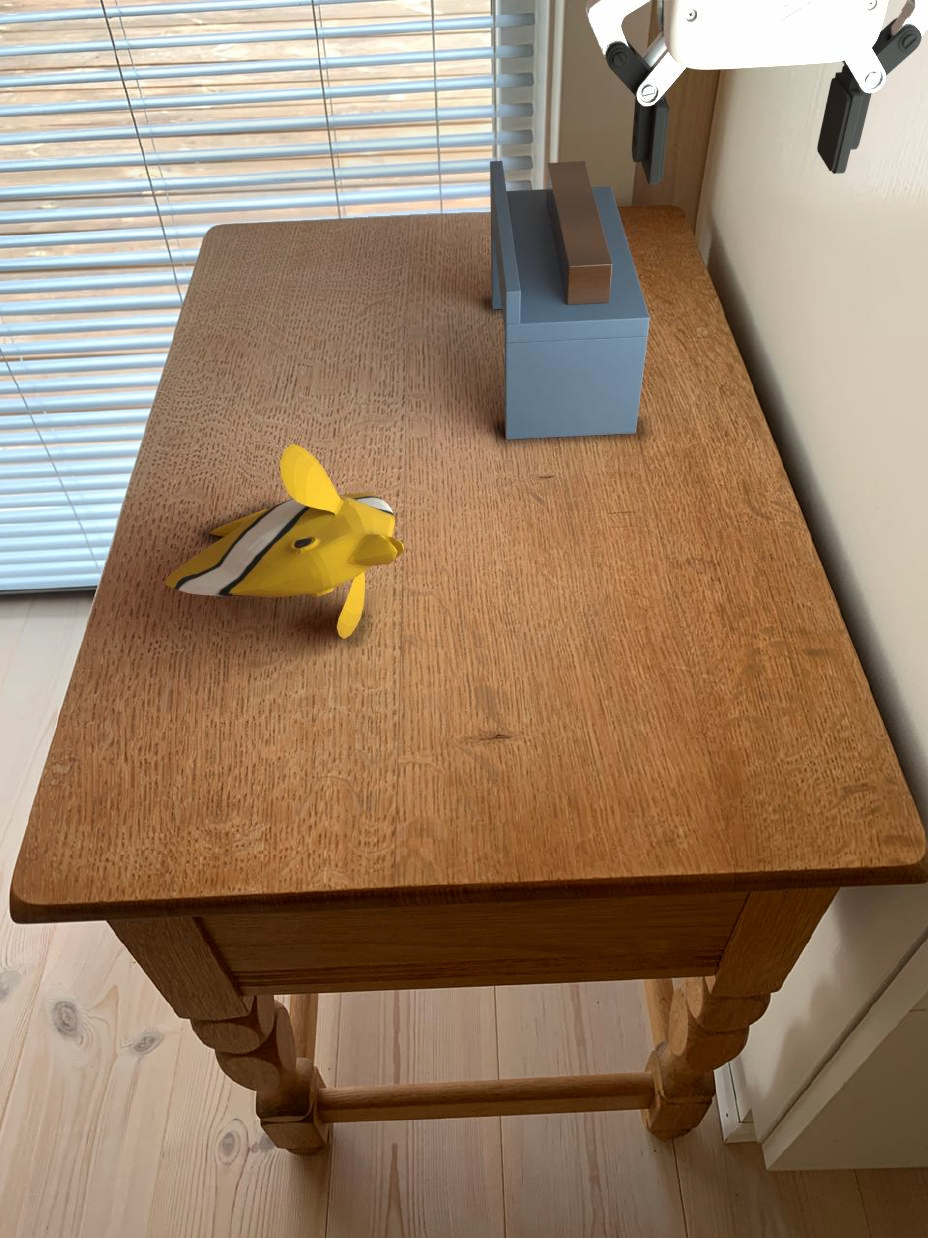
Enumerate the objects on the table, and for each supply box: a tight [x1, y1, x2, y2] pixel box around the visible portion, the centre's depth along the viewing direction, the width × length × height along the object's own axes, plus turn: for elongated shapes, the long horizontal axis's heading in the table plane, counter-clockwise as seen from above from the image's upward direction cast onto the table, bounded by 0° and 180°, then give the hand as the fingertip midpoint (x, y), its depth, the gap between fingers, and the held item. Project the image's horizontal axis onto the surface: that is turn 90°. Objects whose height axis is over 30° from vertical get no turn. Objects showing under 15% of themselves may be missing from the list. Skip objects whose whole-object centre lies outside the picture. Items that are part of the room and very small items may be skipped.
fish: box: [164, 443, 405, 640], centre depth 62 cm, size 20×12×15 cm
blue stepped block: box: [489, 160, 651, 440], centre depth 78 cm, size 10×20×12 cm, turn 2°
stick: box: [546, 160, 612, 305], centre depth 74 cm, size 16×3×3 cm, turn 2°
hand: (740, 167), depth 53 cm, fingers open, 9 cm apart
